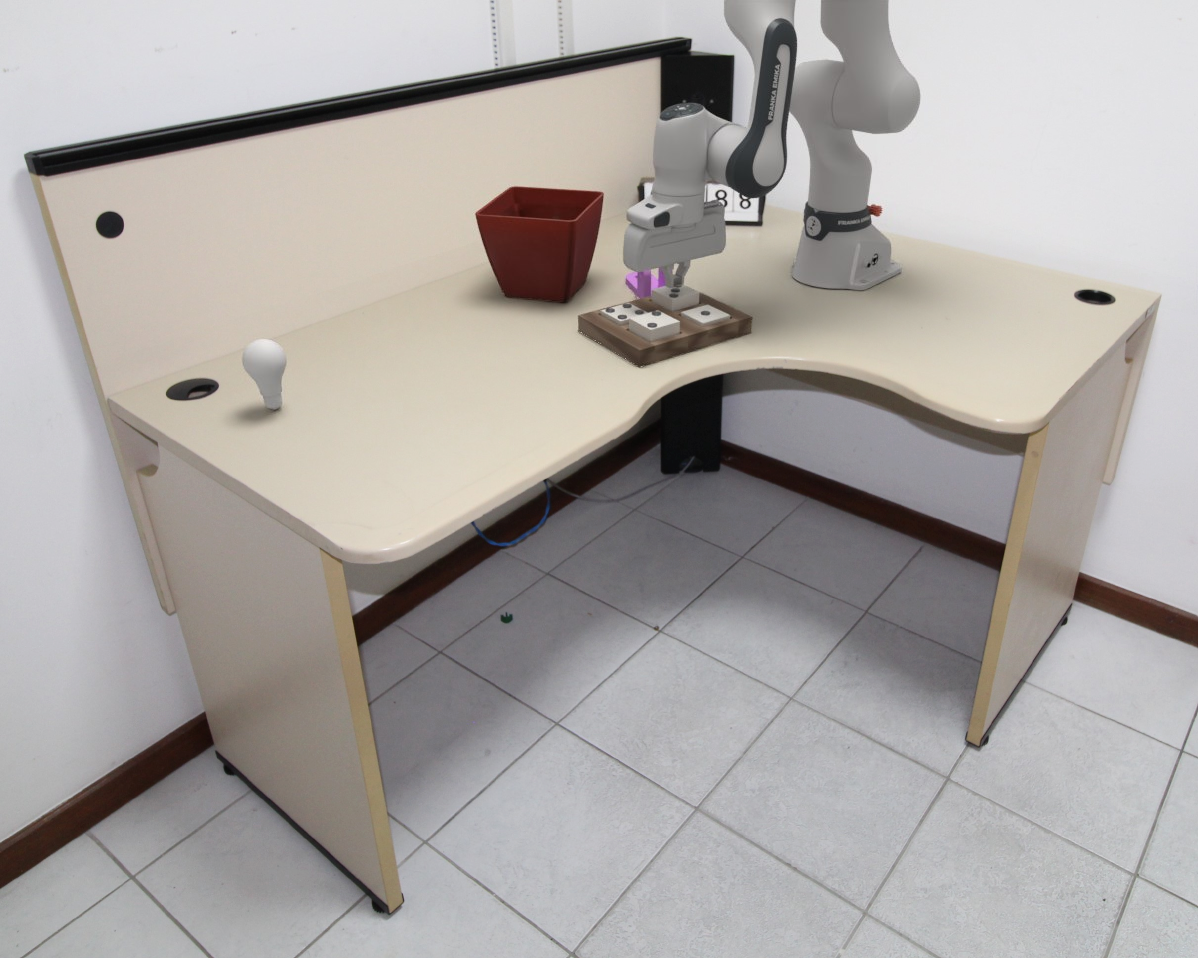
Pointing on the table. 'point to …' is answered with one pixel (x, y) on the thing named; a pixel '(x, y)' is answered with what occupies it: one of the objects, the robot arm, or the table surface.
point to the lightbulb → (266, 369)
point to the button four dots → (622, 313)
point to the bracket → (644, 282)
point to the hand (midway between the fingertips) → (674, 286)
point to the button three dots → (675, 297)
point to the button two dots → (654, 326)
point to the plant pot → (541, 240)
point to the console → (665, 348)
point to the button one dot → (705, 315)
